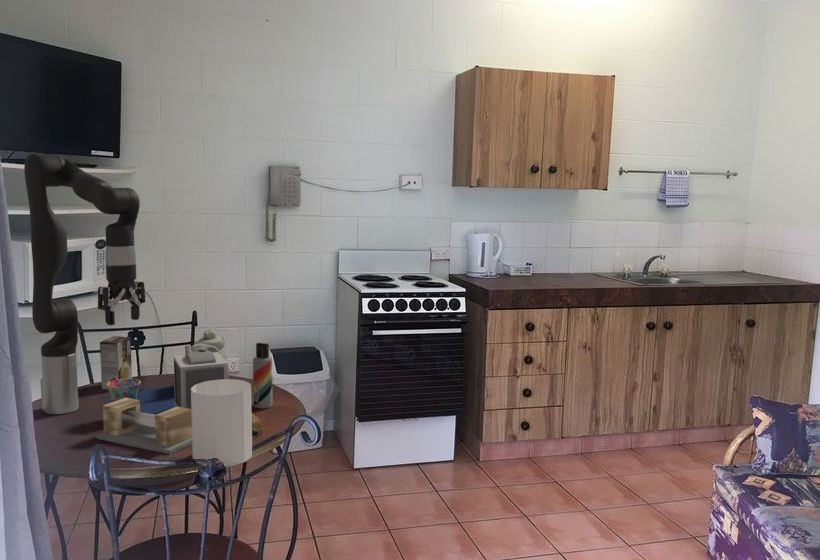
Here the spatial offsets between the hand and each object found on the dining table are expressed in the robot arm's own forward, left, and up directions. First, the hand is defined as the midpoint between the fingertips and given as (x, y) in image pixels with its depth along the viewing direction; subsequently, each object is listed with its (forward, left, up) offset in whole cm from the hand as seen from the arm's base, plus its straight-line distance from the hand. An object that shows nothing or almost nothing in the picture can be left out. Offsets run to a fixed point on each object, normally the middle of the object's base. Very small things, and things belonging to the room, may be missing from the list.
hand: (123, 322), depth 188 cm
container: (+36, -4, -30) cm, 47 cm away
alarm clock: (+9, +20, -30) cm, 37 cm away
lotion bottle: (+21, +34, -30) cm, 50 cm away
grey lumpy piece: (-10, +44, -30) cm, 54 cm away
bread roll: (+31, +11, -30) cm, 44 cm away
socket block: (+20, -3, -30) cm, 36 cm away
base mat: (+11, -3, -30) cm, 32 cm away
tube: (+11, -3, -28) cm, 30 cm away
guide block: (+2, -3, -29) cm, 29 cm away
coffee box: (-35, +30, -30) cm, 55 cm away
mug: (-8, +8, -30) cm, 32 cm away
